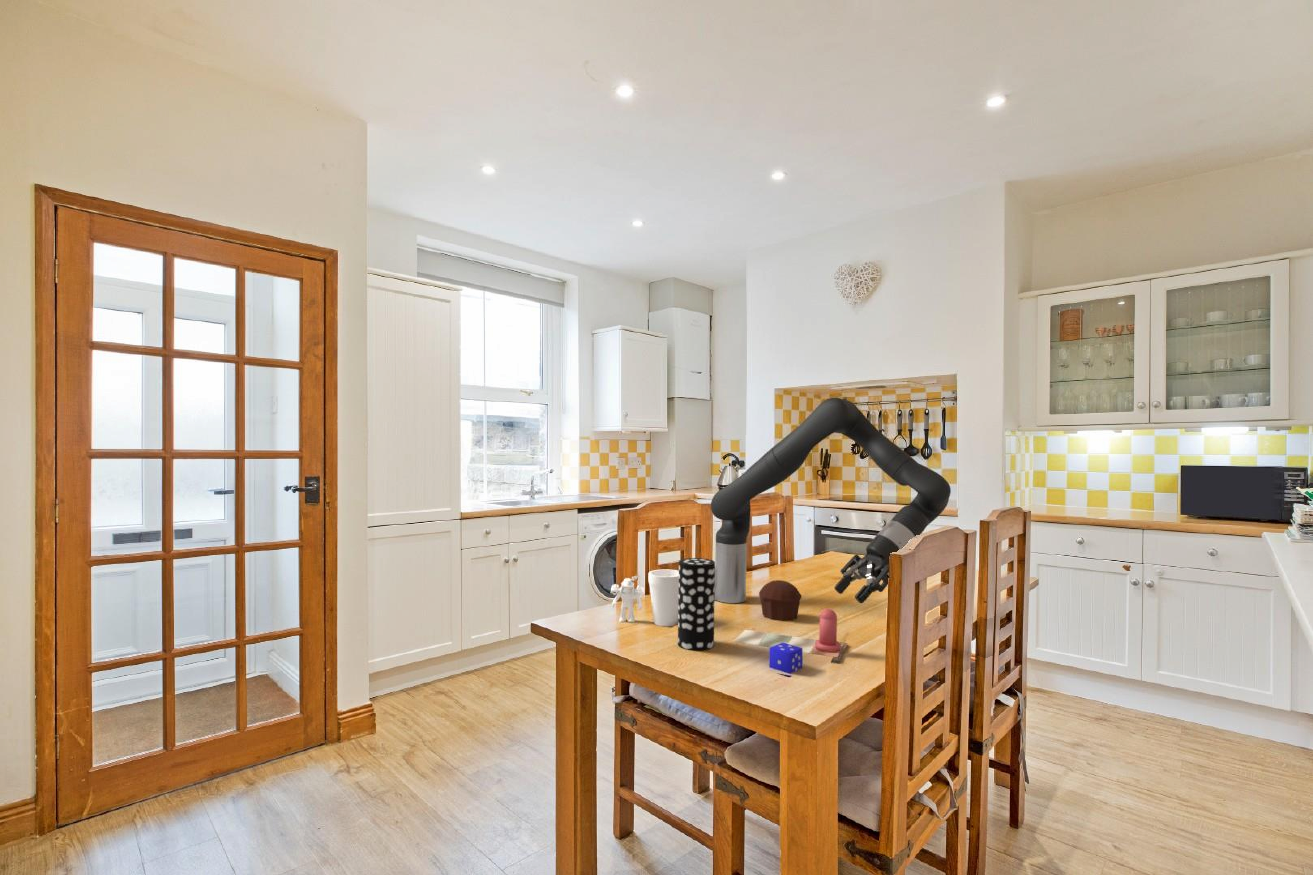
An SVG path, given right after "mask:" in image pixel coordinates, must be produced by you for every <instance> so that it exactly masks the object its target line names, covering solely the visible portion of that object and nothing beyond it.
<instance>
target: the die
mask: <svg viewBox="0 0 1313 875" xmlns="http://www.w3.org/2000/svg"><path fill="white" fill-rule="evenodd" d="M802 651H803V649H802V648H800V647H797V646H793V645H790V644H788V643H787V644H786V643H780V644H778V645H775V646H773V647H769V653H768V654H769V660H768V661H769V663H768V666H769V668H770V669H772V670H776V671H778V672H779V671H780V672H783V673H776V675H777V674H778V675H779V676H783V677H786V678H791V677H792V675H790V674H792V673H794V672H796V671H799V670H800V669H803V652H802ZM784 673H785V674H784ZM788 674H789V675H788Z"/></svg>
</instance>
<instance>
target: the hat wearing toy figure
mask: <svg viewBox="0 0 1313 875" xmlns="http://www.w3.org/2000/svg"><path fill="white" fill-rule="evenodd" d="M639 577H640V575H639V574H637V575H634V576H631V578H629V577H626V578H624V580H622V582H621V583H620V584H621V586H619V584H617V583H615V584H614V583H613V584H612V585H611V588H610V589H611V590H610V594H613V595H614V596H615V595H616V596H615V598H614V599H613V601H612V603H611V607H612V608H614V607H615V605H617V604H618V600H620V598H621V604H620V616H619V620H618V622H620V623H625V622H626V621H627V622H628V623H634V622H635V615H634V614H635V612H634V602H635V601H636V603H635V607H638V608H637V609H638V611H639V610H642V607H643V604H642V600H641V598H640V596H641V595H642V596H644V595H645V588H644V587H643V586H641V585H639V584H638V585H636V587H635V582H634V581H635V580H638V578H639ZM626 611H627V612H628V613H627V612H626ZM626 614H628V620H627V615H626Z"/></svg>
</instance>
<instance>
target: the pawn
mask: <svg viewBox="0 0 1313 875" xmlns="http://www.w3.org/2000/svg"><path fill="white" fill-rule="evenodd" d="M837 632H838V615H837V614H836V611H835V610H833V609H831V608H825V609H823V610H822V611H820V614H819V637H818V638H819V639H815V640H816V641H815V646H814V647H815V648H816V649H817V650H819V651H823V652H830V653H833V652H839V651H840V650H841V644H840V642H839V641H838V640H837V639H838V636H837V635H838V634H837Z"/></svg>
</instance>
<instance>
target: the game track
mask: <svg viewBox="0 0 1313 875" xmlns="http://www.w3.org/2000/svg"><path fill="white" fill-rule="evenodd" d="M816 640H817V639H814V638H813V639H812V638H805V637H800V636H799V637H798V636H792V635H785V634H779V633H770V632H763V631H756V630H749V629H745V630H743V632H741V633H740V634H739V635H738V636H737V637H736V638H735V639H734V640H732V641H733V643H739V644H746V645H752V646H760V647H767V648H770V647H773V646H775V645H778V644H780V643H786V644H790V645H793V646H797V647H800V648H802V649H803V651H802V653H805V654H812V655H820V656H826V657H832V658H831V661H830V663H833V664H840V663H841V660H842V658H843V657H844V653H845V651H846V649H847V647H848V642H842V641H841V642H839V643H840V644H841V650H840V651H839V652H833V653H830V652H823V651H819V650H817V649H816V648H815V641H816Z"/></svg>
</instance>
